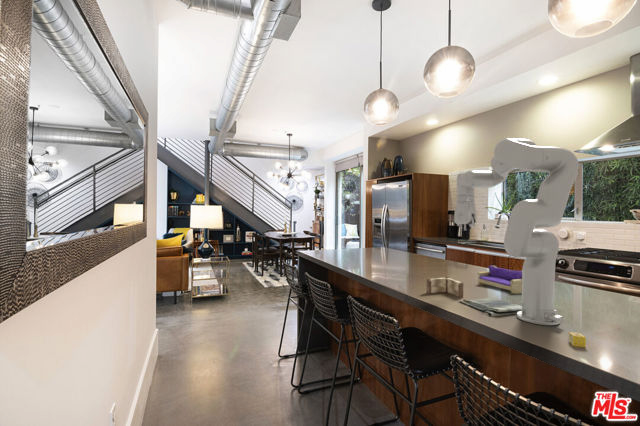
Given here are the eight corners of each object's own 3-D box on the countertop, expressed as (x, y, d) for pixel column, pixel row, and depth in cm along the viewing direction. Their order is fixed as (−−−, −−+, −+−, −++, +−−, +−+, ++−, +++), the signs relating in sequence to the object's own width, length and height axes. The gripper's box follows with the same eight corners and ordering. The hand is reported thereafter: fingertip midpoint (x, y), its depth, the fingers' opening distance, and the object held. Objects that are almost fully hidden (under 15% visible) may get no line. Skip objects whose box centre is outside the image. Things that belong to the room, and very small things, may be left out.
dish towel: (492, 301, 139) (492, 293, 139) (530, 314, 122) (530, 305, 122) (456, 304, 133) (456, 297, 133) (491, 319, 116) (491, 310, 116)
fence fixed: (463, 298, 140) (463, 282, 140) (460, 298, 139) (460, 282, 139) (447, 291, 151) (447, 276, 151) (444, 291, 151) (444, 276, 151)
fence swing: (443, 290, 151) (444, 277, 151) (446, 291, 149) (446, 277, 149) (426, 292, 147) (426, 278, 147) (428, 293, 146) (428, 279, 146)
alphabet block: (580, 343, 94) (580, 332, 94) (585, 347, 91) (586, 336, 91) (568, 342, 95) (568, 331, 95) (573, 346, 92) (573, 335, 92)
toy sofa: (476, 285, 167) (476, 265, 167) (489, 283, 170) (489, 264, 170) (512, 295, 147) (513, 272, 147) (526, 293, 150) (527, 271, 150)
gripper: (448, 200, 158) (448, 238, 158) (469, 198, 143) (469, 240, 143) (461, 200, 160) (461, 237, 159) (483, 199, 145) (484, 240, 145)
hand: (465, 238), depth 151 cm, fingers closed
